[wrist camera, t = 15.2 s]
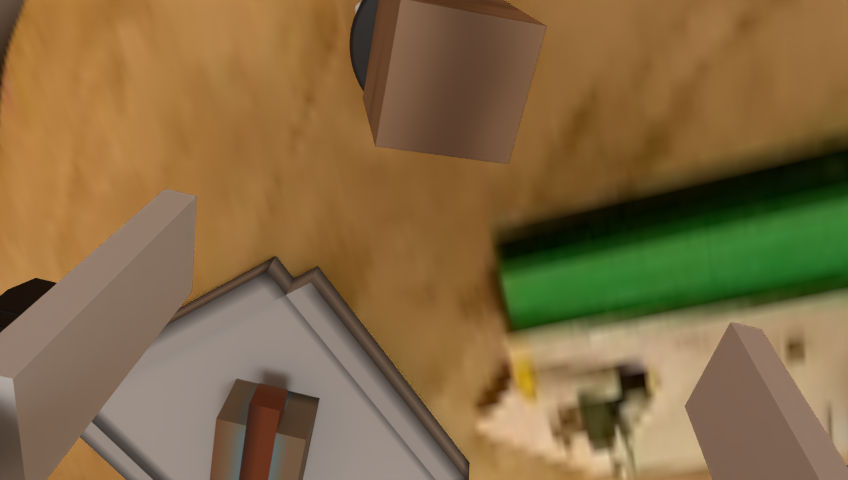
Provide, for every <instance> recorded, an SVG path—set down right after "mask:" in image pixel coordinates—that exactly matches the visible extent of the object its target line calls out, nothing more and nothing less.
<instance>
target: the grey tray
mask: <svg viewBox="0 0 848 480" xmlns="http://www.w3.org/2000/svg"><path fill="white" fill-rule="evenodd" d="M80 437H81V438H82V439H83V440H84V441H85V442H86V443H87V444H88V445H89V446H90V447H91V448H93V449H94V450H95V451H96V452H97V453H98V454H99V455H100V456H101V457H102V458H103V459H104V460H106V461H107V462H108V463H109V464H110V465H111V466H112V467H113V468H114V469H115V470H116V471H117V472H119V473H120V474H121V475H122V476H123V477H124V478H125V479H126V480H469V462H468V460H467V459H466V458H465V457H464V455H463V454H462V453H461V451H460V450H459V449H458V448H457V446H456V445H455V444H454V442H453V441H452V440H451V438H450V437H449V436H448V435H447V433H446V432H445V431H444V429H443V428H442V427H441V425H440V424H439V423H438V422H437V420H436V419H435V418H434V416H433V415H432V414H431V412H430V411H429V410H428V409H427V407H426V406H425V405H424V403H423V402H422V401H421V399H420V398H419V397H418V396H417V394H416V393H415V392H414V390H413V389H412V388H411V386H410V385H409V384H408V383H407V381H406V380H405V379H404V377H403V376H402V375H401V373H400V372H399V371H398V370H397V368H396V367H395V366H394V364H393V363H392V362H391V361H390V359H389V358H388V357H387V355H386V354H385V353H384V351H383V350H382V349H381V348H380V346H379V345H378V344H377V342H376V341H375V340H374V338H373V337H372V336H371V335H370V333H369V332H368V331H367V329H366V328H365V327H364V325H363V324H362V323H361V322H360V320H359V319H358V318H357V316H356V315H355V314H354V312H353V311H352V310H351V309H350V307H349V306H348V305H347V303H346V302H345V301H344V299H343V298H342V297H341V296H340V294H339V293H338V292H337V290H336V289H335V288H334V286H333V285H332V284H331V283H330V281H329V280H328V279H327V277H326V276H325V275H324V274H323V272H322V271H321V270H320V268H319V267H316V268H314V269H312V270H310V271H308V272H306V273H304V274H302V275H300V276H298V277H297V278H295V279H294V278H293V277H292V276H291V274H290V273H289V272H288V271H287V269H286V268H285V267H284V266H283V264H282V263H281V262H280V260H279V259H278V258H277V257H276V256H275V257H273V258H271V259H269V260H268V261H266V262H264V263H262V264H260V265H258V266H256V267H255V268H253V269H251V270H249V271H247V272H245V273H244V274H242V275H240V276H238V277H236V278H234V279H233V280H231V281H229V282H227V283H225V284H223V285H222V286H220V287H218V288H216V289H214V290H212V291H211V292H209V293H207V294H205V295H203V296H201V297H200V298H198V299H196V300H194V301H192V302H190V303H188V304H187V305H185V306H183V307H181V308H179V309H178V310H177V311H176V313H175V314H174V315H173V317H172V318H171V319H170V320H169V322H168V323H167V324H166V326H165V327H164V328H163V330H162V331H161V332H160V333H159V335H158V336H157V337H156V339H155V340H154V341H153V342H152V344H151V345H150V346H149V348H148V349H147V350H146V352H145V353H144V354H143V355H142V357H141V358H140V359H139V361H138V362H137V363H136V364H135V366H134V367H133V368H132V370H131V371H130V372H129V374H128V375H127V376H126V377H125V379H124V380H123V381H122V383H121V384H120V385H119V386H118V388H117V389H116V390H115V392H114V393H113V394H112V396H111V397H110V398H109V399H108V401H107V402H106V403H105V405H104V406H103V407H102V408H101V410H100V411H99V412H98V414H97V415H96V416H95V418H94V419H93V420H92V421H91V423H90V424H89V425H88V427H87V428H86V429H85V430H84V432H83V433H82V434H81V436H80Z"/></svg>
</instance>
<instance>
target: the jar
mask: <svg viewBox="0 0 848 480" xmlns="http://www.w3.org/2000/svg"><path fill="white" fill-rule="evenodd" d="M377 6H378V0H361V1H360V2H359V3H357V4H356V6H355V17H354V20H353V23H352V27H351V33H350V57H351V62H352V66H353V70H354V73H355V76H356V78H357V80H358V82H359V85H360V86H361V88H362V90H363V91H364V88H365V81H366V75H367V69H368V62H369V56H370V50H371V44H372V37H373V31H374V25H375V18H376V12H377Z"/></svg>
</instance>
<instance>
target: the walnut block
mask: <svg viewBox="0 0 848 480" xmlns="http://www.w3.org/2000/svg"><path fill="white" fill-rule="evenodd" d="M546 27H547V26H545V25H544V24H542V23H540V22H539V21H537V20H535V19H534V18H532V17H530V16H529V15H527V14H525V13H524V12H522V11H520V10H519V9H517V8H515V7H514V6H512V5H510V4H509V3H507V2H505V1H504V0H378V6H377V12H376V18H375V25H374V31H373V37H372V44H371V50H370V56H369V62H368V69H367V75H366V81H365V88H364V94H363V101H364V105H365V108H366V112H367V116H368V120H369V124H370V127H371V131H372V135H373V139H374V143H375V146H377V147H384V148H392V149H399V150H407V151H414V152H422V153H429V154H436V155H444V156H451V157H459V158H466V159H474V160H481V161H489V162H496V163H504V164H509V161H510V157H511V153H512V150H513V146H514V143H515V139H516V135H517V132H518V128H519V124H520V121H521V117H522V114H523V110H524V106H525V103H526V99H527V95H528V92H529V88H530V85H531V81H532V77H533V74H534V70H535V66H536V63H537V59H538V56H539V52H540V48H541V45H542V41H543V37H544V34H545V30H546Z"/></svg>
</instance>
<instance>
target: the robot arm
mask: <svg viewBox="0 0 848 480" xmlns="http://www.w3.org/2000/svg"><path fill="white" fill-rule="evenodd" d="M196 201H197V196H194V195H190V194H186V193H181V192H177V191H173V190H169V189H164V190H163V191H162V192H161V193H160V194H158V195H157V196H156V197H155V198H154V199H153V200H152V201H150V202H149V203H148V204H147V205H146V206H145V207H144V208H142V209H141V210H140V211H139V212H138V213H137V214H136V215H134V216H133V217H132V218H131V219H130V220H129V221H128V222H126V223H125V224H124V225H123V226H122V227H121V228H120V229H118V230H117V231H116V232H115V233H114V234H113V235H112V236H110V237H109V238H108V239H107V240H106V241H105V242H104V243H102V244H101V245H100V246H99V247H98V248H97V249H96V250H94V251H93V252H92V253H91V254H90V255H89V256H88V257H86V258H85V259H84V260H83V261H82V262H81V263H80V264H78V265H77V266H76V267H75V268H74V269H73V270H72V271H70V272H69V273H68V274H67V275H66V276H65V277H64V278H62V279H61V280H60V281H59V282H58V283H55V282H51V281H47V280H42V279H38V278H35V279H32V280H30V281H27V282H25V283H23V284H20V285H18V286H15V287H13V288H11V289H8V290H7V291H6V292H4V293H3V294H2V295H1V296H0V480H47V478H48V477H49V476H50V474H51V473H52V472H53V471H54V469H55V468H56V467H57V465H58V464H59V463H60V462H61V460H62V459H63V458H64V456H65V455H66V454H67V452H68V451H69V450H70V449H71V447H72V446H73V445H74V443H75V442H76V441H77V440H78V438H79V437H80V436H81V434H82V433H83V432H84V430H85V429H86V428H87V427H88V425H89V424H90V423H91V421H92V420H93V419H94V418H95V416H96V415H97V414H98V412H99V411H100V410H101V408H102V407H103V406H104V405H105V403H106V402H107V401H108V399H109V398H110V397H111V396H112V394H113V393H114V392H115V390H116V389H117V388H118V386H119V385H120V384H121V383H122V381H123V380H124V379H125V377H126V376H127V375H128V374H129V372H130V371H131V370H132V368H133V367H134V366H135V364H136V363H137V362H138V361H139V359H140V358H141V357H142V355H143V354H144V353H145V352H146V350H147V349H148V348H149V346H150V345H151V344H152V342H153V341H154V340H155V339H156V337H157V336H158V335H159V333H160V332H161V331H162V330H163V328H164V327H165V326H166V324H167V323H168V322H169V320H170V319H171V318H172V317H173V315H174V314H175V313H176V311H177V310H178V309H179V308H180V306H181V305H182V304H183V302H184V301H185V300H186V299H187V297H188V296H189V295H190V293H191V292H192V284H193V263H194V243H195V222H196ZM685 408H686V411H687V413H688V416H689V419H690V421H691V424H692V426H693V429H694V432H695V434H696V437H697V440H698V442H699V445H700V448H701V450H702V453H703V456H704V458H705V461H706V463H707V466H708V469H709V471H710V474H711V477H712V479H713V480H848V465H846V463H845V462H844V460H843V459H842V457H841V455H840V454H839V452H838V451H837V449H836V447H835V446H834V444H833V443H832V441H831V439H830V438H829V436H828V435H827V433H826V431H825V430H824V428H823V427H822V425H821V424H820V422H819V420H818V419H817V417H816V416H815V414H814V412H813V411H812V409H811V408H810V406H809V404H808V403H807V401H806V400H805V398H804V396H803V395H802V393H801V392H800V390H799V388H798V387H797V385H796V384H795V382H794V380H793V379H792V377H791V376H790V374H789V372H788V371H787V369H786V368H785V366H784V364H783V363H782V361H781V360H780V358H779V356H778V355H777V353H776V352H775V350H774V348H773V347H772V345H771V344H770V342H769V340H768V339H767V337H766V336H765V334H764V332H763V331H762V329H758V328H754V327H750V326H745V325H741V324H737V323H733V322H731V323H730V324H729V326H728V328H727V330H726V332H725V334H724V335H723V337H722V339H721V341H720V343H719V345H718V346H717V348H716V350H715V352H714V354H713V356H712V357H711V359H710V361H709V363H708V365H707V367H706V368H705V370H704V372H703V374H702V376H701V377H700V379H699V381H698V383H697V385H696V387H695V388H694V390H693V392H692V394H691V396H690V398H689V399H688V401H687V403H686V405H685Z"/></svg>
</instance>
